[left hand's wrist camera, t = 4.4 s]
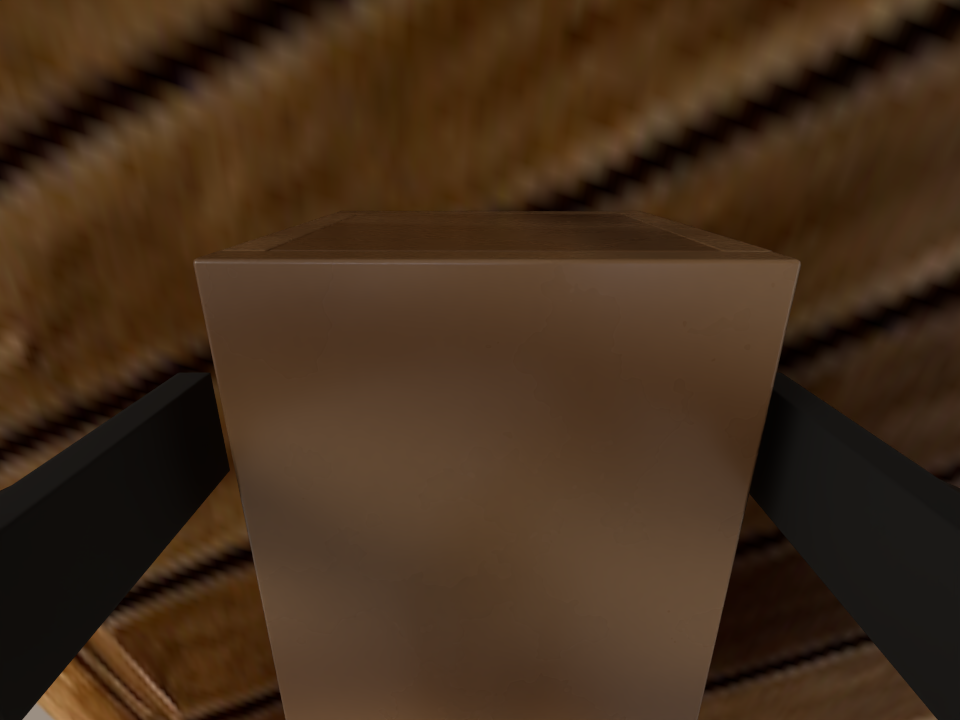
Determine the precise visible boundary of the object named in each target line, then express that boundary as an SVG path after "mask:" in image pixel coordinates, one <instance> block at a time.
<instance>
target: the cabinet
mask: <svg viewBox="0 0 960 720" xmlns="http://www.w3.org/2000/svg"><path fill="white" fill-rule="evenodd" d="M193 264H194V269H195V274H196V279H197V284H198V289H199V294H200V299H201V304H202V309H203V314H204V318H205V323H206V328H207V333H208V338H209V343H210V348H211V353H212V358H213V363H214V368H215V373H216V378H217V383H218V388H219V393H220V397H221V402H222V407H223V412H224V417H225V422H226V427H227V432H228V437H229V442H230V447H231V452H232V457H233V462H234V467H235V471H236V476H237V481H238V486H239V491H240V496H241V501H242V506H243V511H244V516H245V521H246V526H247V531H248V536H249V541H250V545H251V550H252V555H253V560H254V565H255V570H256V575H257V580H258V585H259V590H260V595H261V600H262V605H263V610H264V615H265V620H266V624H267V629H268V634H269V639H270V644H271V649H272V654H273V659H274V664H275V669H276V674H277V679H278V684H279V689H280V694H281V698H282V703H283V708H284V713H285V718H286V720H698V716H699V712H700V707H701V703H702V698H703V694H704V690H705V685H706V681H707V676H708V672H709V668H710V663H711V659H712V654H713V650H714V645H715V641H716V637H717V632H718V628H719V623H720V619H721V615H722V610H723V606H724V601H725V597H726V593H727V588H728V584H729V579H730V575H731V571H732V566H733V562H734V557H735V553H736V549H737V544H738V540H739V535H740V531H741V527H742V522H743V518H744V513H745V509H746V505H747V500H748V496H749V491H750V487H751V482H752V478H753V474H754V469H755V465H756V460H757V456H758V452H759V447H760V443H761V438H762V434H763V430H764V425H765V421H766V416H767V412H768V408H769V403H770V399H771V394H772V390H773V386H774V381H775V377H776V372H777V368H778V364H779V359H780V355H781V350H782V346H783V342H784V337H785V333H786V328H787V324H788V320H789V315H790V311H791V306H792V302H793V297H794V293H795V289H796V284H797V280H798V275H799V271H800V267H801V262H800V260H798V259H795V258H792V257H788V256H785V255H782V254H779V253H775V252H772V251H771V250H767V249H764V248H761V247H757V246H754V245H751V244H747V243H744V242H741V241H738V240H734V239H731V238H728V237H724V236H721V235H718V234H714V233H711V232H708V231H704V230H701V229H698V228H695V227H691V226H688V225H685V224H681V223H678V222H675V221H671V220H668V219H665V218H661V217H658V216H655V215H652V214H647V213H644V212H641V211H340V212H337V213H334V214H331V215H328V216H325V217H322V218H319V219H316V220H313V221H310V222H307V223H304V224H301V225H298V226H294V227H291V228H288V229H285V230H282V231H279V232H276V233H273V234H270V235H267V236H264V237H261V238H258V239H255V240H251V241H248V242H245V243H242V244H239V245H236V246H233V247H230V248H227V249H224V250H222V251H218V252H215V253H211V254H208V255H205V256H202V257H199V258H197V259H195V260H194V263H193Z"/></svg>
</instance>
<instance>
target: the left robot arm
mask: <svg viewBox="0 0 960 720" xmlns="http://www.w3.org/2000/svg"><path fill="white" fill-rule="evenodd" d="M229 471H230V469H229V464H228V459H227V454H226V449H225V444H224V439H223V434H222V429H221V424H220V419H219V414H218V409H217V404H216V399H215V394H214V389H213V384H212V379H211V374H210V373H178V374H176V375H175V376H173V377H172V378H170V379H169V380H167V381H166V382H164V383H163V384H161V385H160V386H158V387H157V388H155V389H154V390H153V391H151V392H150V393H148V394H147V395H145V396H144V397H142V398H141V399H139V400H138V401H136V402H135V403H133V404H132V405H130V406H129V407H127V408H126V409H124V410H123V411H121V412H120V413H118V414H117V415H115V416H114V417H112V418H111V419H110V420H108V421H107V422H105V423H104V424H102V425H101V426H99V427H98V428H96V429H95V430H93V431H92V432H90V433H89V434H87V435H86V436H84V437H83V438H81V439H80V440H78V441H77V442H75V443H74V444H72V445H71V446H69V447H68V448H66V449H65V450H64V451H62V452H61V453H59V454H58V455H56V456H55V457H53V458H52V459H50V460H49V461H47V462H46V463H44V464H43V465H41V466H40V467H38V468H37V469H35V470H34V471H32V472H31V473H29V474H28V475H26V476H25V477H23V478H22V479H20V480H19V481H18V482H16V483H15V484H13V485H12V486H9V487H7V488H5V489H3V490H1V491H0V720H22V719H23V718H24V717H25V716H26V715H27V713H28V712H29V711H30V710H31V709H32V707H33V706H34V705H35V704H36V703H37V701H38V700H39V699H40V698H41V697H42V695H43V694H44V693H45V692H46V691H47V689H48V688H49V687H50V686H51V685H52V683H53V682H54V681H55V680H56V679H57V677H58V676H59V675H60V674H61V673H62V671H63V670H64V669H65V668H66V667H67V665H68V664H69V663H70V662H71V661H72V659H73V658H74V657H75V656H76V655H77V653H78V652H79V651H80V650H81V649H82V647H83V646H84V645H85V644H86V642H87V641H88V640H89V639H90V638H91V636H92V635H93V634H94V633H95V632H96V630H97V629H98V628H99V627H100V626H101V624H102V623H103V622H104V621H105V620H106V618H107V617H108V616H109V615H110V614H111V612H112V611H113V610H114V609H115V608H116V606H117V605H118V604H119V603H120V602H121V600H122V599H123V598H124V597H125V596H126V594H127V593H128V592H129V591H130V590H131V588H132V587H133V586H134V585H135V584H136V582H137V581H138V580H139V579H140V578H141V576H142V575H143V574H144V573H145V572H146V570H147V569H148V568H149V567H150V566H151V564H152V563H153V562H154V561H155V560H156V558H157V557H158V556H159V555H160V554H161V552H162V551H163V550H164V549H165V548H166V546H167V545H168V544H169V543H170V542H171V540H172V539H173V538H174V537H175V536H176V534H177V533H178V532H179V531H180V530H181V528H182V527H183V526H184V525H185V524H186V522H187V521H188V520H189V519H190V518H191V516H192V515H193V514H194V513H195V512H196V510H197V509H198V508H199V507H200V506H201V504H202V503H203V502H204V501H205V500H206V498H207V497H208V496H209V495H210V494H211V492H212V491H213V490H214V489H215V488H216V486H217V485H218V484H219V483H220V482H221V480H222V479H223V478H224V477H225V476H226V474H227V473H228V472H229ZM749 494H750V495H751V496H752V497H753V498H754V500H755V501H756V502H757V503H758V504H759V506H760V507H761V508H762V509H763V510H764V512H765V513H766V514H767V515H768V516H769V518H770V519H771V520H772V521H773V522H774V524H775V525H776V526H777V527H778V528H779V530H780V531H781V532H782V533H783V534H784V536H785V537H786V538H787V539H788V540H789V542H790V543H791V544H792V545H793V546H794V548H795V549H796V550H797V551H798V552H799V554H800V555H801V556H802V557H803V558H804V560H805V561H806V562H807V563H808V564H809V566H810V567H811V568H812V569H813V570H814V572H815V573H816V574H817V575H818V576H819V578H820V579H821V580H822V581H823V582H824V584H825V585H826V586H827V587H828V588H829V590H830V591H831V592H832V593H833V594H834V596H835V597H836V598H837V599H838V600H839V602H840V603H841V604H842V605H843V606H844V608H845V609H846V610H847V611H848V612H849V614H850V615H851V616H852V617H853V618H854V620H855V621H856V622H857V623H858V624H859V626H860V627H861V628H862V629H863V630H864V632H865V633H866V634H867V635H868V636H869V638H870V639H871V640H872V641H873V642H874V644H875V645H876V646H877V647H878V649H879V650H880V651H881V652H882V653H883V655H884V656H885V657H886V658H887V659H888V661H889V662H890V663H891V664H892V665H893V667H894V668H895V669H896V670H897V671H898V673H899V674H900V675H901V676H902V677H903V679H904V680H905V681H906V682H907V683H908V685H909V686H910V687H911V688H912V689H913V691H914V692H915V693H916V694H917V695H918V697H919V698H920V699H921V700H922V701H923V703H924V704H925V705H926V706H927V707H928V709H929V710H930V711H931V712H932V713H933V715H934V716H935V717H936V718H937V719H938V720H960V488H958V487H956V486H953V485H951V484H949V483H947V482H945V481H942V480H940V479H938V478H937V477H935V476H934V475H932V474H931V473H929V472H928V471H926V470H925V469H923V468H922V467H920V466H919V465H917V464H916V463H914V462H913V461H911V460H910V459H908V458H907V457H905V456H904V455H902V454H901V453H899V452H898V451H896V450H895V449H894V448H892V447H891V446H889V445H888V444H886V443H885V442H883V441H882V440H880V439H879V438H877V437H876V436H874V435H873V434H871V433H870V432H868V431H867V430H865V429H864V428H862V427H861V426H859V425H858V424H856V423H855V422H853V421H852V420H850V419H849V418H848V417H846V416H845V415H843V414H842V413H840V412H839V411H837V410H836V409H834V408H833V407H831V406H830V405H828V404H827V403H825V402H824V401H822V400H821V399H819V398H818V397H816V396H815V395H813V394H812V393H810V392H809V391H807V390H806V389H805V388H803V387H802V386H800V385H799V384H797V383H796V382H794V381H793V380H791V379H790V378H788V377H787V376H785V375H784V374H782V373H776V377H775V381H774V386H773V390H772V394H771V399H770V403H769V408H768V412H767V416H766V421H765V425H764V430H763V434H762V438H761V443H760V447H759V452H758V456H757V460H756V465H755V469H754V474H753V478H752V482H751V487H750V491H749Z"/></svg>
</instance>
